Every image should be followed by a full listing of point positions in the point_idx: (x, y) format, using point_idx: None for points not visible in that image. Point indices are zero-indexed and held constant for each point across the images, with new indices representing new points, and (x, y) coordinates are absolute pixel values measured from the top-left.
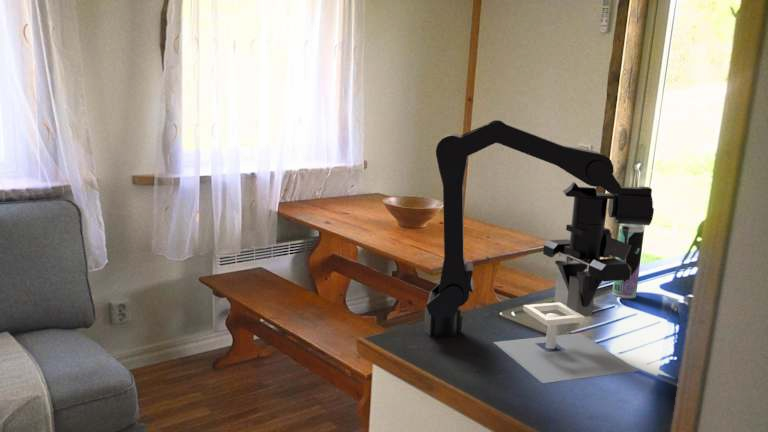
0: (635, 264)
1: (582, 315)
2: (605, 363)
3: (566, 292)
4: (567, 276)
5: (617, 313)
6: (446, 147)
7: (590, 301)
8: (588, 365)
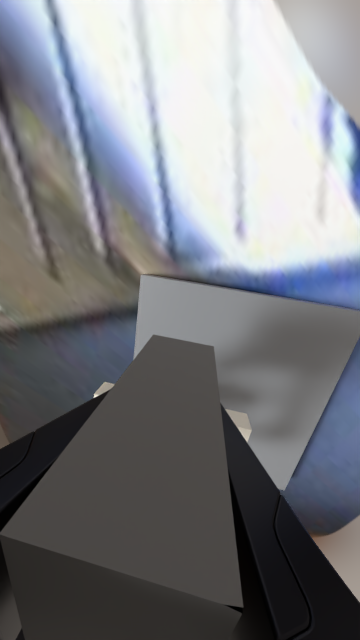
0: None
1: (237, 427)
2: (296, 352)
3: None
4: (20, 623)
5: None
6: None
7: (231, 420)
8: (281, 388)
